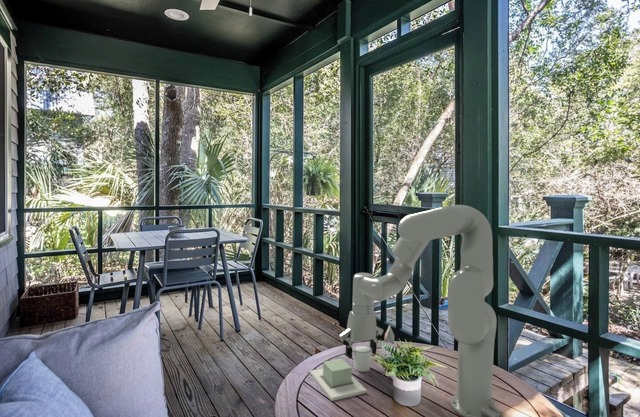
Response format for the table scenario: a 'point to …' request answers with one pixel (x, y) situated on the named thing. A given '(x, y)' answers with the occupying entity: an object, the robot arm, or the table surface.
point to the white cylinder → (362, 357)
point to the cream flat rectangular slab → (337, 387)
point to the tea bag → (389, 335)
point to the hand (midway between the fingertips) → (361, 355)
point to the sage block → (337, 372)
